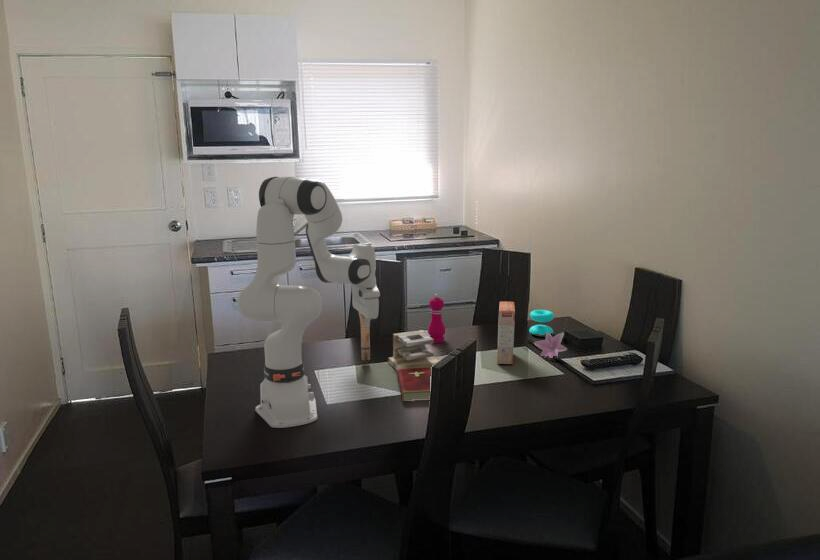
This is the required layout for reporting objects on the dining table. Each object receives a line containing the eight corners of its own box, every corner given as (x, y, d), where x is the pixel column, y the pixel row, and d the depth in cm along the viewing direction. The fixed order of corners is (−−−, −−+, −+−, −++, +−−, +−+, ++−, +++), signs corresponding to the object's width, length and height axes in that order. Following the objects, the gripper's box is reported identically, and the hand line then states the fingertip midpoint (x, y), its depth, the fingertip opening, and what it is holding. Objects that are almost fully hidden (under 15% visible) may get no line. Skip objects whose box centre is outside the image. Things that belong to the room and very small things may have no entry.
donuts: (544, 316, 257) (524, 311, 264) (543, 340, 259) (524, 334, 267) (559, 312, 263) (539, 307, 271) (558, 335, 265) (539, 329, 273)
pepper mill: (426, 343, 257) (426, 295, 252) (429, 337, 263) (429, 291, 259) (443, 344, 255) (443, 296, 250) (446, 338, 262) (447, 292, 257)
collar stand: (443, 368, 228) (443, 340, 226) (401, 375, 222) (401, 345, 220) (427, 356, 241) (427, 329, 238) (388, 362, 235) (387, 334, 232)
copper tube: (371, 359, 232) (370, 312, 228) (362, 361, 231) (361, 313, 227) (368, 357, 235) (367, 310, 231) (360, 358, 234) (359, 311, 230)
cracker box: (513, 366, 230) (515, 311, 226) (497, 365, 231) (498, 310, 226) (513, 353, 244) (515, 301, 239) (497, 352, 245) (499, 300, 240)
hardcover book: (402, 403, 200) (402, 391, 199) (397, 379, 220) (397, 367, 219) (439, 401, 201) (439, 389, 200) (431, 377, 221) (431, 366, 220)
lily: (531, 355, 244) (528, 338, 238) (555, 341, 247) (553, 323, 241) (550, 374, 235) (548, 356, 229) (575, 358, 238) (574, 341, 232)
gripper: (347, 283, 236) (348, 318, 238) (364, 295, 217) (365, 333, 220) (363, 281, 238) (364, 317, 241) (381, 293, 219) (382, 331, 222)
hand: (365, 325), depth 230 cm, fingers closed on copper tube, 3 cm apart
